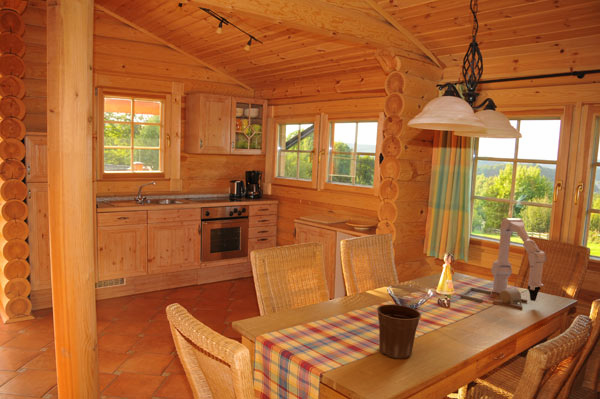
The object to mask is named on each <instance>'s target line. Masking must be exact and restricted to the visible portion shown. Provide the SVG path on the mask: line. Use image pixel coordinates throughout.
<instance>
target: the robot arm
mask: <svg viewBox="0 0 600 399" xmlns="http://www.w3.org/2000/svg"><path fill="white" fill-rule="evenodd" d="M500 223H501V225H500V233H499V234H500V235H499V245H498V256H497V259H496V260H495V261H493V262H492V266H491V270H490V272H491V274H492V276H493V282H492V283H493V284H492V289H491V290H490V291H492V293H496V294H500V293H501V292H502V291H503V290H507V289H508V283H509V278H510V276H512V273H513V269H512V263H511V262H510V261H509V257H510V256H509V254H510V246H511V238H512V237H511V236H512V234H513V233H516V234H517V235H518V236H519V238H520V239H521V241H522V242H523V244H522V246H523V248H524V250H525V251H526V252H527V254H528V256H527V257H528V261H529V264H528V265H529V266H530V267H529V274H528V282H527V284H528V286H527V289H528V293H529V297H530V298H529V299H530V301H532V302H535V301H536V300H537V297H538V294H539V291H540V290H541V288H542V287H544V284H543V283H542V277H543V269H544V267H543V266H544V263H546V261H547V254H546V252H544V251H543V250H541V249H540V248H539V246H538V245H537V244H536V241H535V240H534V239H531V238H530V236H529V234H528V232H527V231H526V228H525V222H524V221H523V219H522V218H520V217H519V218H508V217H505V218H502V220H501V221H500Z"/></svg>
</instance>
